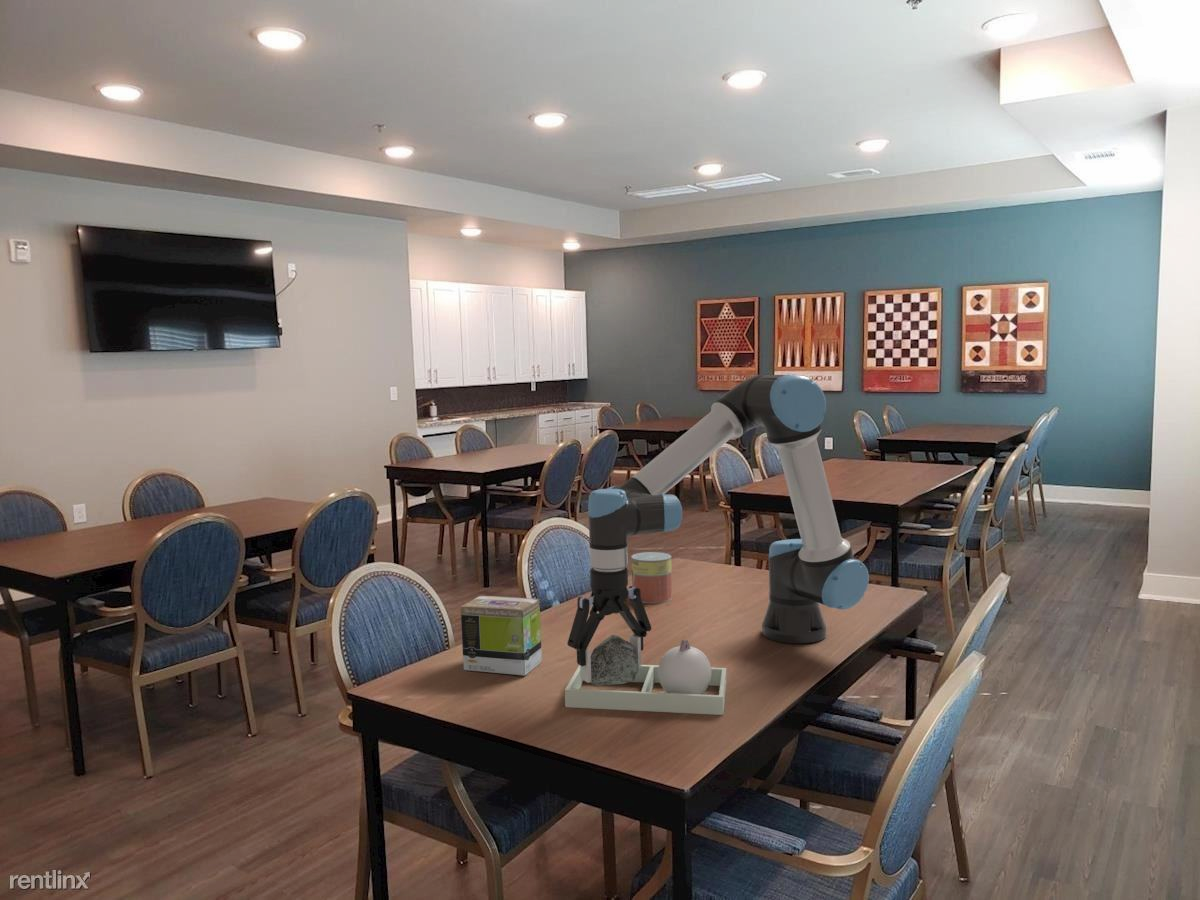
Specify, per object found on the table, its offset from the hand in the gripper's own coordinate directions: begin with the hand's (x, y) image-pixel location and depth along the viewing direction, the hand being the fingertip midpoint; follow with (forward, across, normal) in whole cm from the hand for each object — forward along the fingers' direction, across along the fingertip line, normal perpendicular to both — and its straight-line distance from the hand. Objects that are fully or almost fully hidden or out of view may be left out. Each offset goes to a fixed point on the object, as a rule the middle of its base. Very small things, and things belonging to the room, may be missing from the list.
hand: (611, 673), depth 176 cm
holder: (+4, -5, +5) cm, 8 cm away
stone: (+2, -1, 0) cm, 2 cm away
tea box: (+5, +10, -28) cm, 30 cm away
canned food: (+5, -50, -51) cm, 72 cm away
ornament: (+4, -10, +10) cm, 15 cm away
